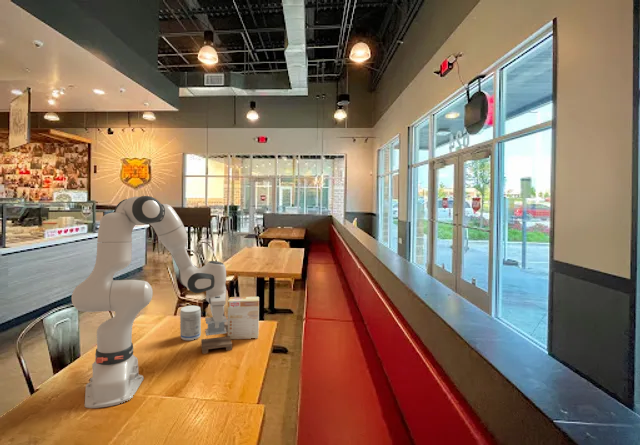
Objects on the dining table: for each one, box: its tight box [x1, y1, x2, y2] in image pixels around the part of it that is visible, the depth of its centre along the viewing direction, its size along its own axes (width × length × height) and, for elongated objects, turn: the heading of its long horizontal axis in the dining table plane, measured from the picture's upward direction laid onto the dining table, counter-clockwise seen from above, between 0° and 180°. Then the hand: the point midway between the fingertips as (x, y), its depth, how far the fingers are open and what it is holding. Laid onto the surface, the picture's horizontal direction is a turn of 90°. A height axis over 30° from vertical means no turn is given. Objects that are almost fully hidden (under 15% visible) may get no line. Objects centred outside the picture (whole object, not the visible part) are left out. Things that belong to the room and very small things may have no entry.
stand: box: [200, 335, 233, 355], centre depth 164 cm, size 9×13×3 cm
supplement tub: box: [179, 305, 202, 341], centre depth 174 cm, size 10×10×15 cm
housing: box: [205, 315, 228, 337], centre depth 164 cm, size 9×5×6 cm, turn 112°
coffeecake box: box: [227, 296, 260, 340], centre depth 177 cm, size 15×7×20 cm, turn 98°
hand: (216, 324), depth 164 cm, fingers closed on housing, 5 cm apart
